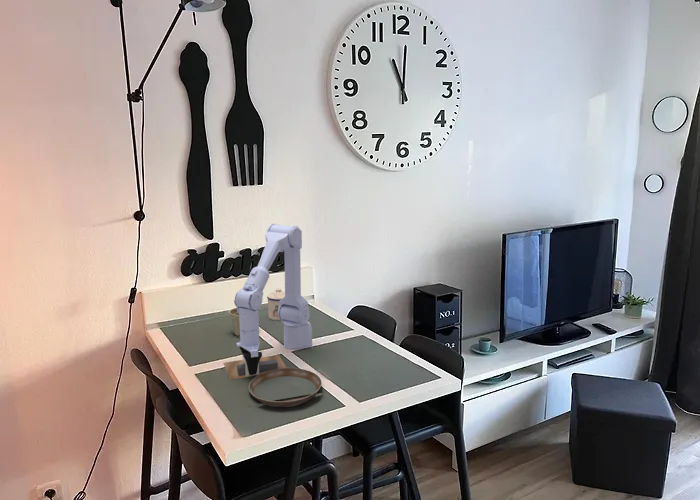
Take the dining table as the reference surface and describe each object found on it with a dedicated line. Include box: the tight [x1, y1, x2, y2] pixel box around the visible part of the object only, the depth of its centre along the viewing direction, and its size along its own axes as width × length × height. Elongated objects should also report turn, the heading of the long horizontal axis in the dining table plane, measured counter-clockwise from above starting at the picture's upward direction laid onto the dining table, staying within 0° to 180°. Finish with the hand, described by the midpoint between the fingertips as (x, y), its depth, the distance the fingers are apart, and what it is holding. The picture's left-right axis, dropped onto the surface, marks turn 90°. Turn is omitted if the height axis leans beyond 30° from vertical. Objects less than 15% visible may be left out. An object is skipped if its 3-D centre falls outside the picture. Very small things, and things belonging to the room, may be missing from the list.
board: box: [222, 354, 288, 381], centre depth 175 cm, size 18×13×1 cm
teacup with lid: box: [266, 287, 285, 321], centre depth 222 cm, size 12×9×12 cm
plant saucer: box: [248, 367, 322, 408], centre depth 160 cm, size 21×21×3 cm
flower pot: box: [228, 307, 240, 337], centre depth 205 cm, size 9×9×9 cm
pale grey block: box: [242, 355, 259, 377], centre depth 171 cm, size 4×5×5 cm
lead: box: [237, 359, 278, 376], centre depth 171 cm, size 12×3×2 cm, turn 111°
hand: (251, 370), depth 171 cm, fingers closed on pale grey block, 5 cm apart
